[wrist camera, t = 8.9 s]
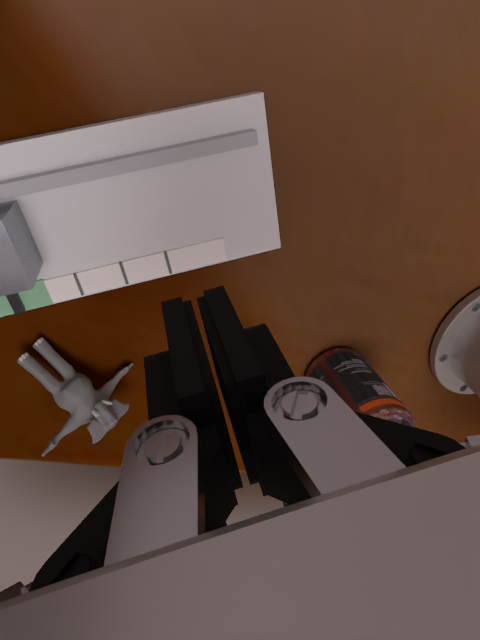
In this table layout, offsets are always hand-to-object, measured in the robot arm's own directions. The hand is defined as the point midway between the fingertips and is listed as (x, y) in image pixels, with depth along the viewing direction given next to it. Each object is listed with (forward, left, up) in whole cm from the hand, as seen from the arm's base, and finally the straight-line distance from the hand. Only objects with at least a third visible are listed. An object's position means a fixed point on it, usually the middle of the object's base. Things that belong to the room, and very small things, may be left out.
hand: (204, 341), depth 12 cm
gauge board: (+5, +1, -20) cm, 20 cm away
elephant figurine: (+10, +13, -20) cm, 26 cm away
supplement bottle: (-11, +20, -20) cm, 31 cm away
